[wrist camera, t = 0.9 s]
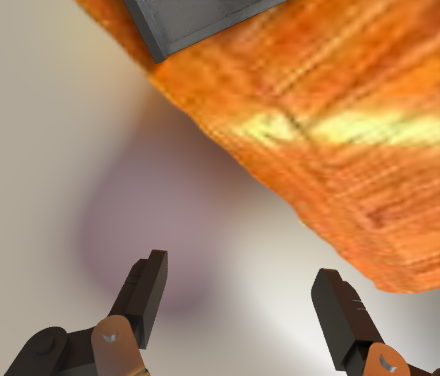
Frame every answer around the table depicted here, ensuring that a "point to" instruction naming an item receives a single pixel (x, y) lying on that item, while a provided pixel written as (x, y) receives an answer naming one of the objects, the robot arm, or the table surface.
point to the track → (188, 20)
